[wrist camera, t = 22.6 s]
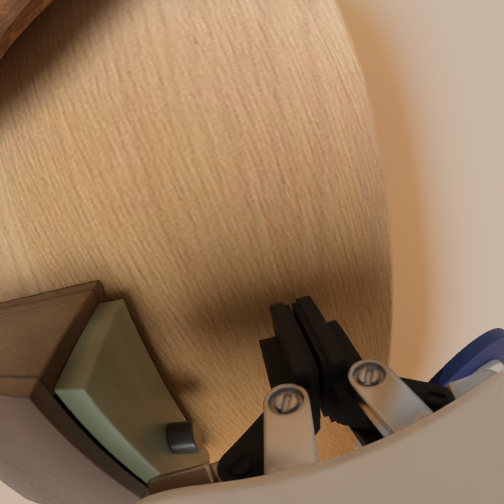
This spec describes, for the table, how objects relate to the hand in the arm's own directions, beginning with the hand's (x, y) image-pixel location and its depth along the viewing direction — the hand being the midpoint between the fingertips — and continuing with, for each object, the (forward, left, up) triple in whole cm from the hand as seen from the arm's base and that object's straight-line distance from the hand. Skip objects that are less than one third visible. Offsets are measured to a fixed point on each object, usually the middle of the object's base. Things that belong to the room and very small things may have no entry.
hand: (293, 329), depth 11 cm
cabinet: (-3, +15, -1) cm, 15 cm away
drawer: (-3, +12, 0) cm, 13 cm away
